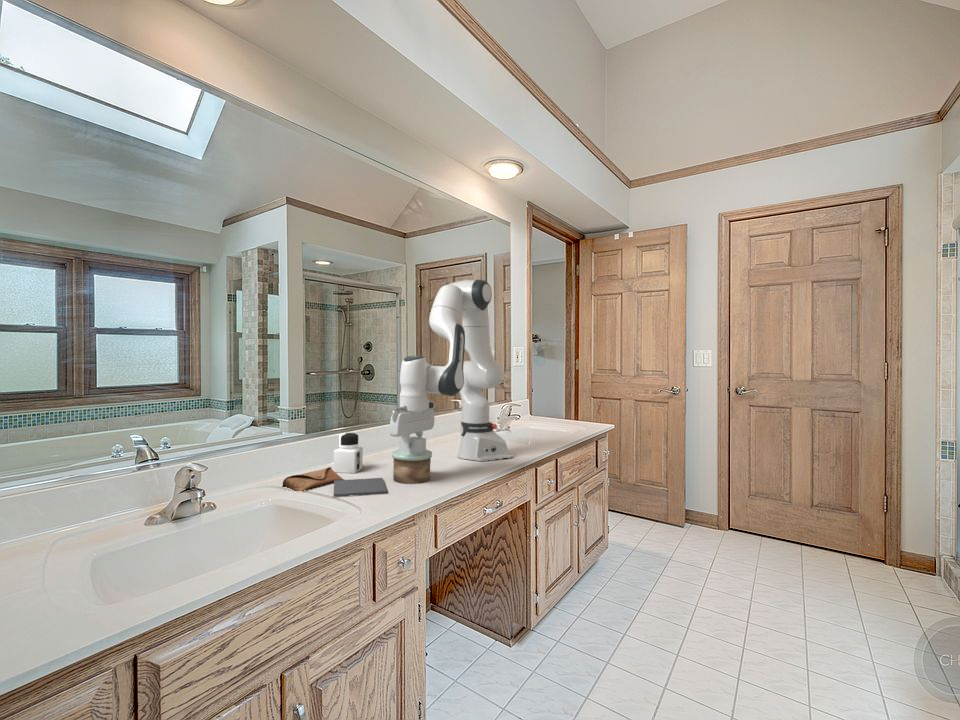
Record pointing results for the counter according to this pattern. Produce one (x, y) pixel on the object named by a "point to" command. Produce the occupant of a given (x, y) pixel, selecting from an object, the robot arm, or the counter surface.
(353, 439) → the container
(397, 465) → the canister
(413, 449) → the lid
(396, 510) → the counter surface
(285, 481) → the sunglasses case
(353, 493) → the mat
